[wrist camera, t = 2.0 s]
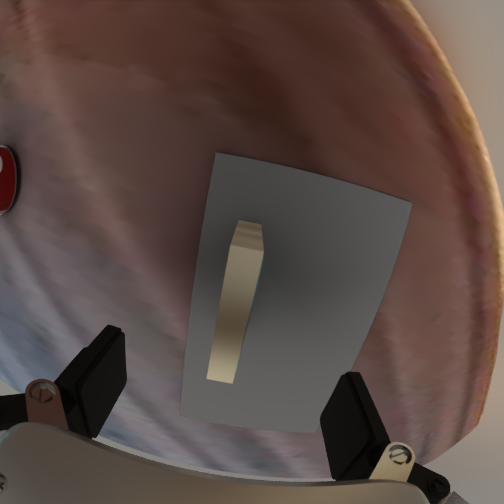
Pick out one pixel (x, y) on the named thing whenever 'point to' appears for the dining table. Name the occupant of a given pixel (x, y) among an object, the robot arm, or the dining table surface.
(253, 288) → the tile
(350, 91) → the dining table surface
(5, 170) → the soda can
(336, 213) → the mat
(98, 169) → the dining table surface
